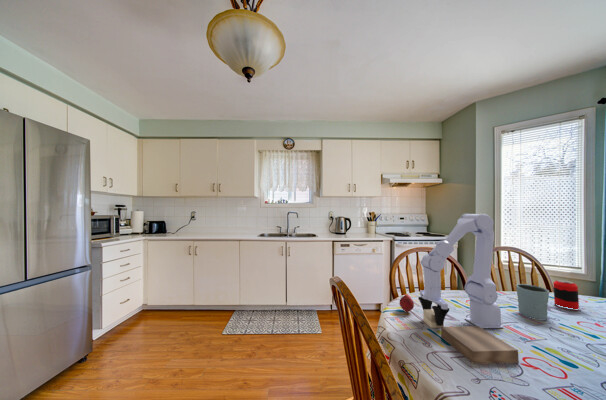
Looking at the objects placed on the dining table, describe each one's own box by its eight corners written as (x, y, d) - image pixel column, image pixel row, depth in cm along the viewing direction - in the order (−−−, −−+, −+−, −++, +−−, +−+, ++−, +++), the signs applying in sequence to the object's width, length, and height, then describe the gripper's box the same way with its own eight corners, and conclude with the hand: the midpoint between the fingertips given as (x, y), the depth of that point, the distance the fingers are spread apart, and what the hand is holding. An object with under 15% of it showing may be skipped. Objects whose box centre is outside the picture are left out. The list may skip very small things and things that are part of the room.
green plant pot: (523, 309, 103) (522, 282, 104) (555, 318, 94) (553, 289, 95) (512, 313, 99) (511, 285, 100) (544, 323, 90) (543, 293, 91)
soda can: (558, 308, 105) (557, 282, 105) (551, 302, 111) (550, 278, 112) (582, 312, 101) (581, 285, 101) (574, 306, 107) (572, 280, 108)
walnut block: (478, 337, 80) (478, 326, 80) (518, 364, 66) (518, 350, 66) (441, 338, 79) (441, 326, 79) (473, 365, 65) (473, 351, 65)
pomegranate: (415, 315, 95) (415, 296, 96) (401, 314, 97) (401, 295, 97) (411, 310, 101) (411, 292, 102) (398, 308, 102) (398, 291, 103)
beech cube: (435, 321, 91) (435, 308, 91) (443, 327, 86) (443, 314, 86) (423, 321, 91) (423, 309, 91) (431, 328, 86) (430, 314, 86)
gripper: (412, 280, 96) (413, 312, 95) (434, 291, 82) (435, 330, 81) (428, 280, 96) (429, 312, 96) (452, 291, 82) (453, 329, 81)
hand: (433, 320), depth 88 cm, fingers open, 7 cm apart
